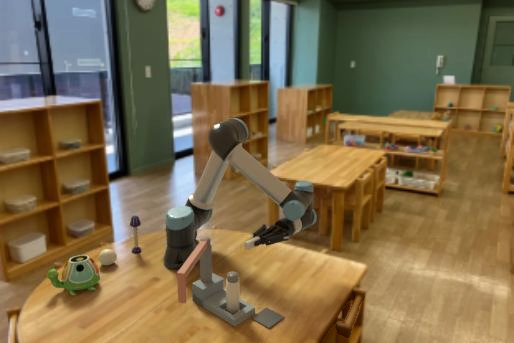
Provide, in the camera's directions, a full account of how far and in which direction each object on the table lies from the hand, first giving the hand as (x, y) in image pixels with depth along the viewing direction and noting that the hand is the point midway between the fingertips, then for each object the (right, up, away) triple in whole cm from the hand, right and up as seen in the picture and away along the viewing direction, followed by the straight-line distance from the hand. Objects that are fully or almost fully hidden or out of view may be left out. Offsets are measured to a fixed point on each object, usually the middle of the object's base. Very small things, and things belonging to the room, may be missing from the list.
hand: (246, 246), depth 147 cm
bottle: (-5, -23, -1) cm, 24 cm away
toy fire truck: (-31, -7, +54) cm, 62 cm away
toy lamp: (-50, -10, +42) cm, 66 cm away
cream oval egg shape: (-59, -13, +30) cm, 68 cm away
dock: (-8, -22, +2) cm, 24 cm away
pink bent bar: (-17, -11, -6) cm, 21 cm away
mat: (+7, -24, -4) cm, 26 cm away
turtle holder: (-65, -18, +13) cm, 68 cm away
